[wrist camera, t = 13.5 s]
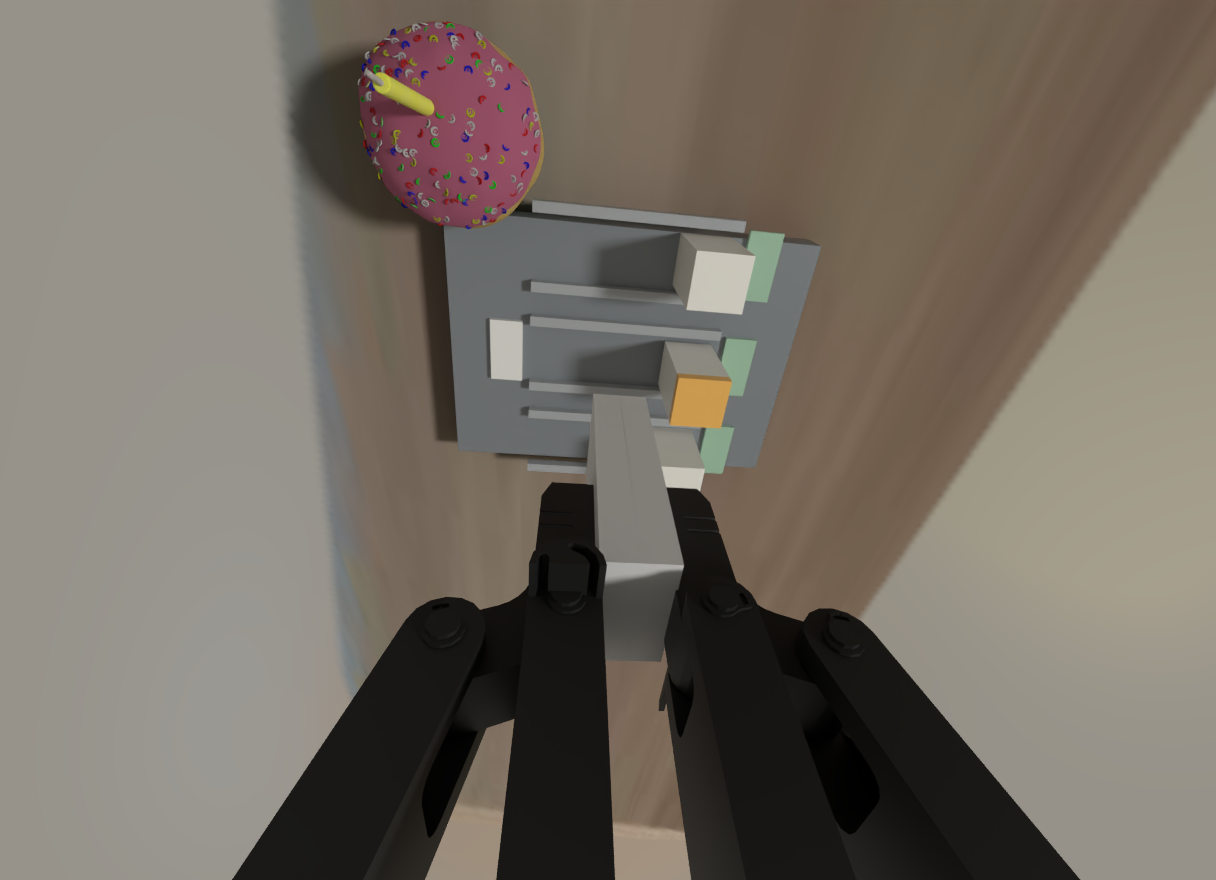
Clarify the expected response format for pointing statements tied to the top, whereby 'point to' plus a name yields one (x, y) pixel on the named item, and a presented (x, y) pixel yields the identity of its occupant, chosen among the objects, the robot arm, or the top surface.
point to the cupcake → (450, 124)
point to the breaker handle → (693, 385)
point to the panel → (617, 327)
